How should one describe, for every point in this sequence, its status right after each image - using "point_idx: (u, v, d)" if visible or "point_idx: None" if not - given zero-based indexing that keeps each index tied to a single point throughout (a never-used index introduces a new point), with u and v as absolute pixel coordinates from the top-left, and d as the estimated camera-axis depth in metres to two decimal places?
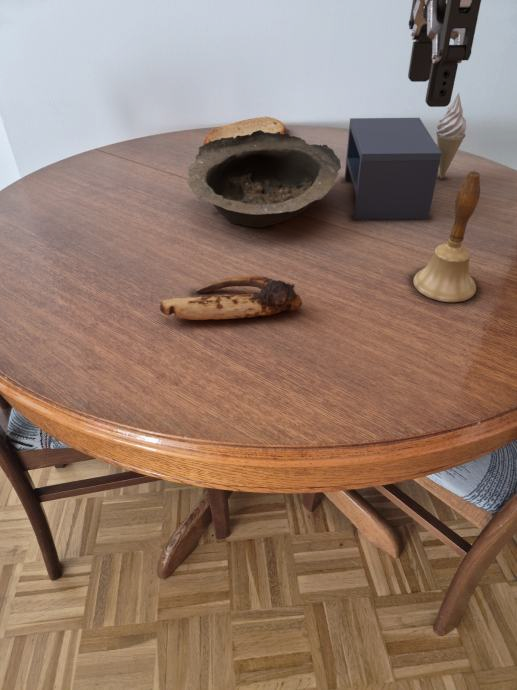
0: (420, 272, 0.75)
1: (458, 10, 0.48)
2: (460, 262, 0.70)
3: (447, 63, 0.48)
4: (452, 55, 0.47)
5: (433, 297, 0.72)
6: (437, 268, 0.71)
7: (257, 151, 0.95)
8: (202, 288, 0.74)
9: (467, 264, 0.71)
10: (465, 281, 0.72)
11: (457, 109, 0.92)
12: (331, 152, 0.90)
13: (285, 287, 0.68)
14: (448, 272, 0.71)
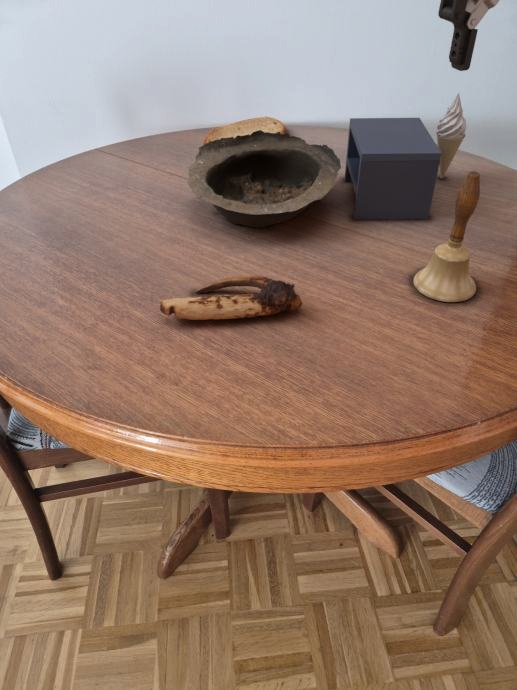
0: (420, 272, 0.75)
1: None
2: (460, 262, 0.70)
3: (456, 25, 0.52)
4: (444, 14, 0.52)
5: (433, 297, 0.72)
6: (437, 268, 0.71)
7: (257, 151, 0.95)
8: (202, 288, 0.74)
9: (467, 264, 0.71)
10: (465, 281, 0.72)
11: (457, 109, 0.92)
12: (331, 152, 0.90)
13: (285, 287, 0.68)
14: (448, 272, 0.71)
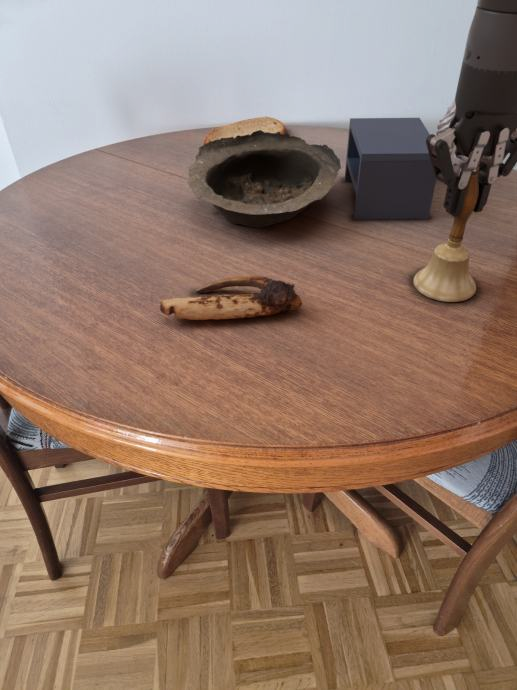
0: (420, 272, 0.75)
1: (460, 146, 0.60)
2: (459, 262, 0.70)
3: None
4: (439, 179, 0.64)
5: (433, 297, 0.72)
6: (437, 268, 0.71)
7: (257, 151, 0.95)
8: (202, 288, 0.74)
9: (467, 264, 0.71)
10: (465, 281, 0.71)
11: None
12: (331, 152, 0.90)
13: (285, 287, 0.68)
14: (448, 272, 0.70)
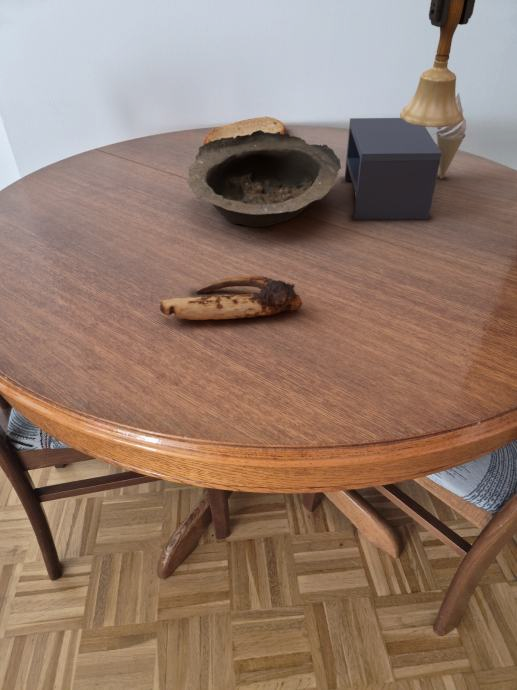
0: None
1: None
2: (446, 82, 0.68)
3: None
4: None
5: (420, 123, 0.70)
6: (423, 92, 0.70)
7: (257, 151, 0.95)
8: (202, 288, 0.74)
9: (453, 87, 0.69)
10: (452, 106, 0.70)
11: None
12: (331, 152, 0.90)
13: (285, 287, 0.68)
14: (434, 94, 0.69)
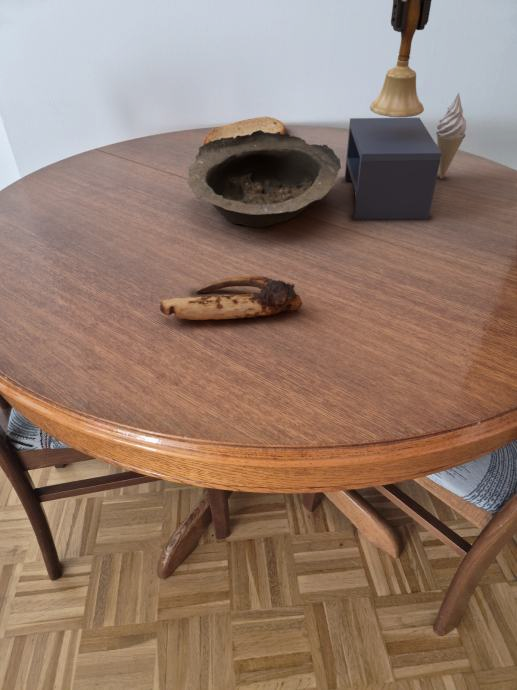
0: None
1: None
2: (407, 78, 0.80)
3: None
4: None
5: (385, 114, 0.83)
6: (388, 87, 0.82)
7: (257, 151, 0.95)
8: (202, 288, 0.74)
9: (414, 82, 0.81)
10: (413, 99, 0.82)
11: (457, 109, 0.92)
12: (331, 152, 0.90)
13: (285, 287, 0.68)
14: (397, 89, 0.81)
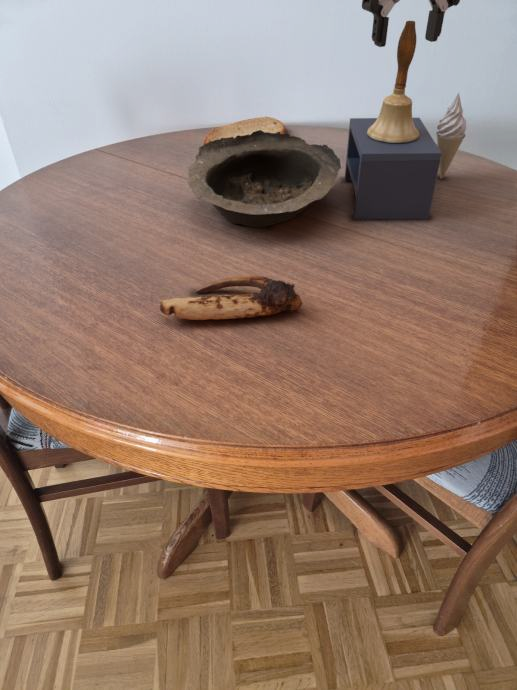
0: (373, 124, 0.88)
1: None
2: (403, 106, 0.83)
3: (374, 14, 0.76)
4: (365, 6, 0.75)
5: (382, 139, 0.85)
6: (385, 114, 0.85)
7: (257, 151, 0.95)
8: (202, 288, 0.74)
9: (410, 110, 0.84)
10: (409, 125, 0.85)
11: (457, 109, 0.92)
12: (331, 152, 0.90)
13: (285, 287, 0.68)
14: (394, 116, 0.84)
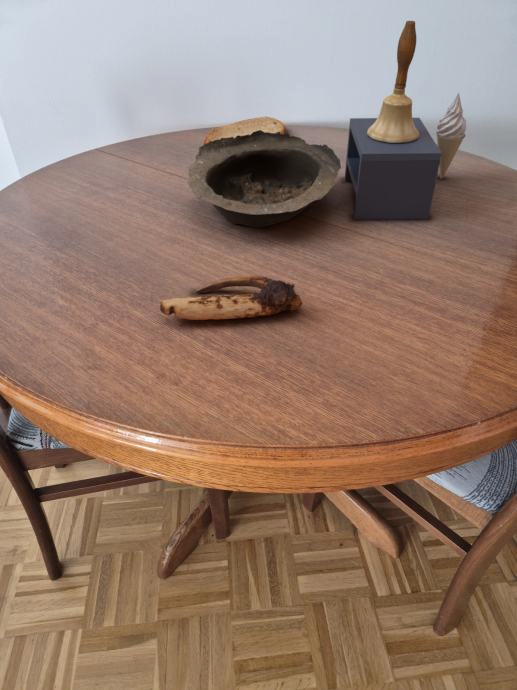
0: (373, 124, 0.88)
1: None
2: (403, 106, 0.83)
3: None
4: None
5: (382, 139, 0.85)
6: (385, 114, 0.85)
7: (257, 151, 0.95)
8: (202, 288, 0.74)
9: (410, 110, 0.84)
10: (409, 125, 0.85)
11: (457, 109, 0.92)
12: (331, 152, 0.90)
13: (285, 287, 0.68)
14: (394, 116, 0.84)
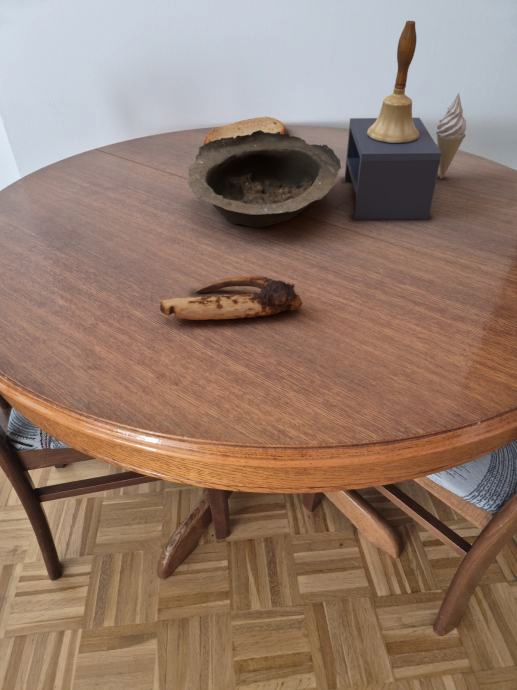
0: (373, 124, 0.88)
1: None
2: (403, 106, 0.83)
3: None
4: None
5: (382, 139, 0.85)
6: (385, 114, 0.85)
7: (257, 151, 0.95)
8: (202, 288, 0.74)
9: (410, 110, 0.84)
10: (409, 125, 0.85)
11: (457, 109, 0.92)
12: (331, 152, 0.90)
13: (285, 287, 0.68)
14: (394, 116, 0.84)
